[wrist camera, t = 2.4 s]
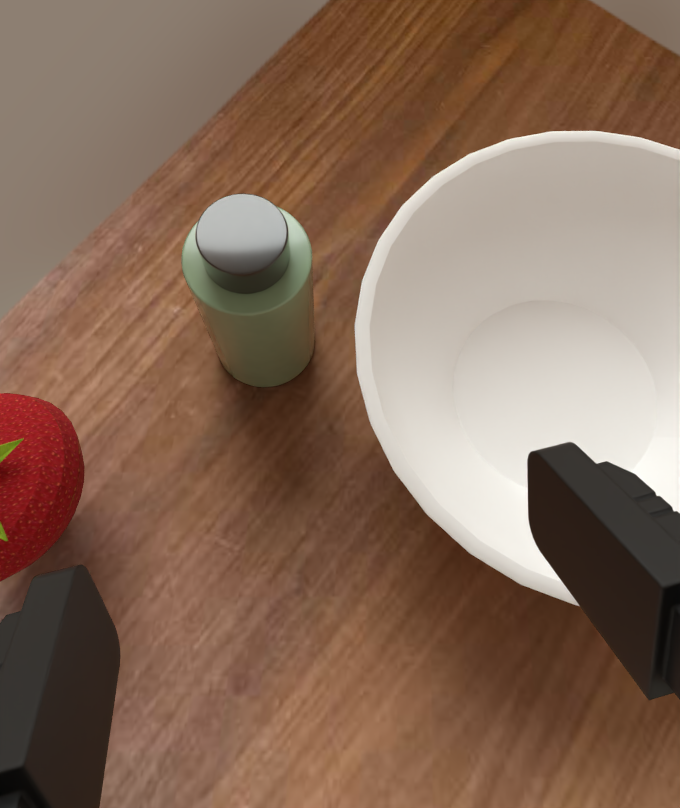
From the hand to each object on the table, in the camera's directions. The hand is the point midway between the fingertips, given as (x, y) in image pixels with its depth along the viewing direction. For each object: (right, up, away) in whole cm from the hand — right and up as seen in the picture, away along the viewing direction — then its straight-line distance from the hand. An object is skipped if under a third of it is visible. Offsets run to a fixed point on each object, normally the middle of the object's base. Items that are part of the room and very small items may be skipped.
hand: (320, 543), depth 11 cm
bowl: (+10, +3, +19) cm, 22 cm away
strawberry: (-13, -2, +17) cm, 21 cm away
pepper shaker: (-3, +6, +19) cm, 20 cm away
